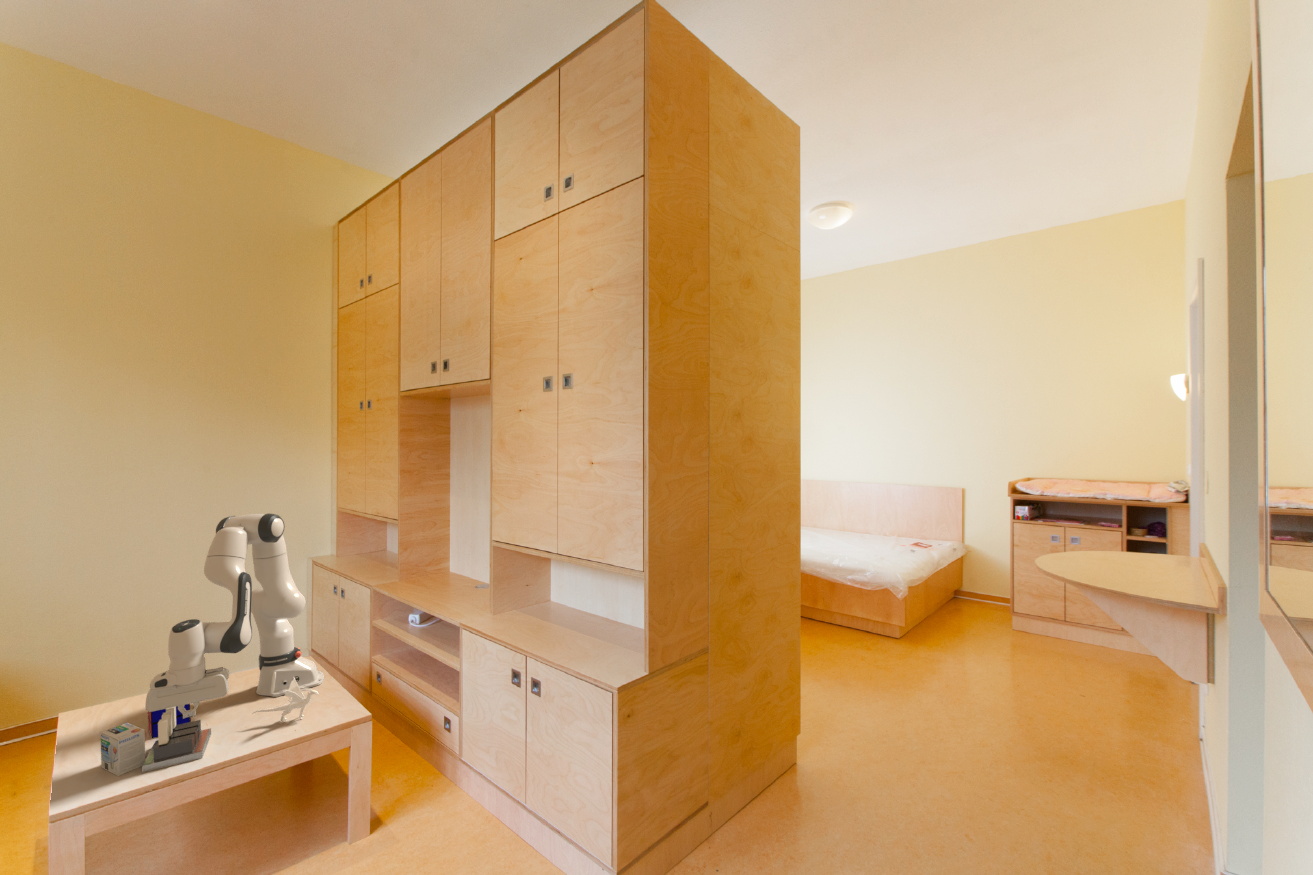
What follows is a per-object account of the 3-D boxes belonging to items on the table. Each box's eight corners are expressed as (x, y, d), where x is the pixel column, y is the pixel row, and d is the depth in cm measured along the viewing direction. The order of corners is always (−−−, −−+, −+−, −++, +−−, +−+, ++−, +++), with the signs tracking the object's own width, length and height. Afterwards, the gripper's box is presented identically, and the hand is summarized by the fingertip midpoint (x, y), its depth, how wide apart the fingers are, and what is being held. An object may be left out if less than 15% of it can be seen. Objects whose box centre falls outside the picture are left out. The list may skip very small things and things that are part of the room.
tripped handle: (172, 732, 177) (171, 710, 177) (170, 735, 175) (170, 714, 175) (164, 733, 176) (163, 712, 176) (162, 737, 174) (161, 715, 174)
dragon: (316, 722, 194) (315, 685, 193) (246, 734, 186) (245, 696, 186) (322, 707, 204) (321, 672, 204) (256, 718, 197) (255, 681, 197)
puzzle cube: (151, 739, 185) (150, 709, 184) (147, 728, 191) (146, 699, 191) (191, 727, 192) (190, 698, 192) (185, 717, 199) (185, 689, 199)
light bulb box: (100, 767, 169) (99, 732, 169) (128, 755, 175) (127, 721, 175) (118, 776, 165) (117, 740, 164) (146, 764, 171) (145, 728, 171)
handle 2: (176, 724, 181) (175, 704, 181) (174, 728, 179) (174, 707, 179) (168, 726, 180) (167, 705, 180) (166, 730, 178) (165, 709, 178)
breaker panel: (211, 733, 187) (210, 716, 187) (202, 757, 173) (201, 738, 173) (155, 746, 180) (155, 728, 180) (142, 772, 166) (141, 752, 166)
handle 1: (169, 739, 173) (168, 717, 172) (167, 743, 171) (166, 721, 170) (160, 741, 172) (159, 719, 171) (158, 745, 170) (157, 723, 169)
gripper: (230, 662, 186) (231, 703, 186) (148, 677, 175) (150, 721, 176) (227, 669, 180) (228, 711, 181) (142, 685, 170) (144, 730, 170)
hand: (189, 716), depth 178 cm, fingers closed
